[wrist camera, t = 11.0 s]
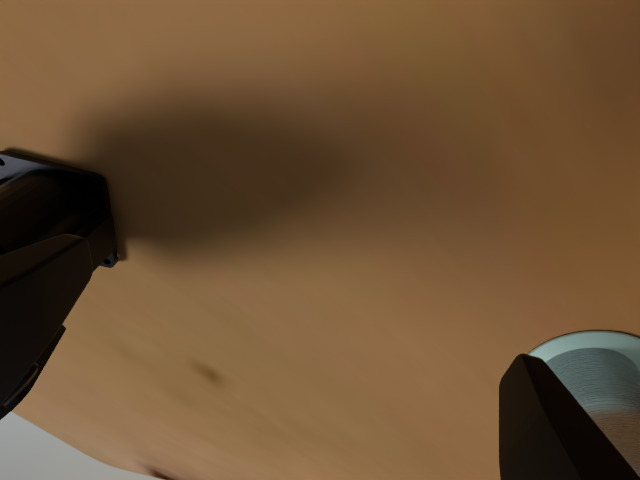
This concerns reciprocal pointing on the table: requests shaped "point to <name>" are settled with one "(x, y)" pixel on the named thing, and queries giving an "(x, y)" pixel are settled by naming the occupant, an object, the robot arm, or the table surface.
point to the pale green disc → (590, 344)
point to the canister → (605, 394)
